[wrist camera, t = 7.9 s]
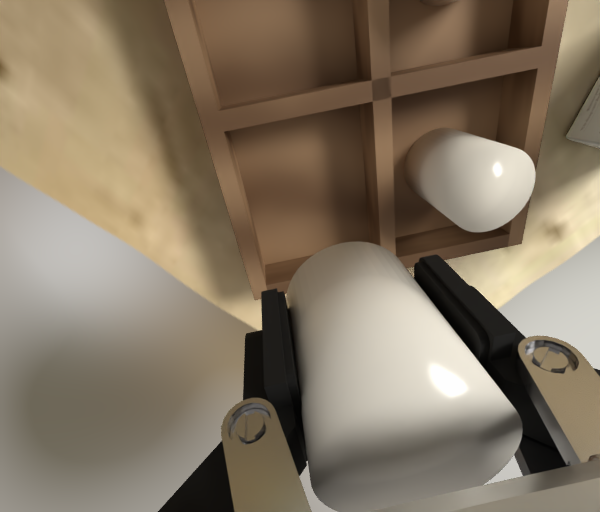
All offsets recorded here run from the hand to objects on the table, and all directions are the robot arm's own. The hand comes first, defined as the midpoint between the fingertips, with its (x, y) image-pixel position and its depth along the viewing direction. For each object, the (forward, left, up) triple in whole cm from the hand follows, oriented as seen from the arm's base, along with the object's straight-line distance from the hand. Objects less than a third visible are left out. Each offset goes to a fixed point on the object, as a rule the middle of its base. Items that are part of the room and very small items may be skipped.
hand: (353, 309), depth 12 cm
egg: (0, 0, -1) cm, 1 cm away
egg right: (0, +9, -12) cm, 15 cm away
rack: (-6, +5, -13) cm, 15 cm away
